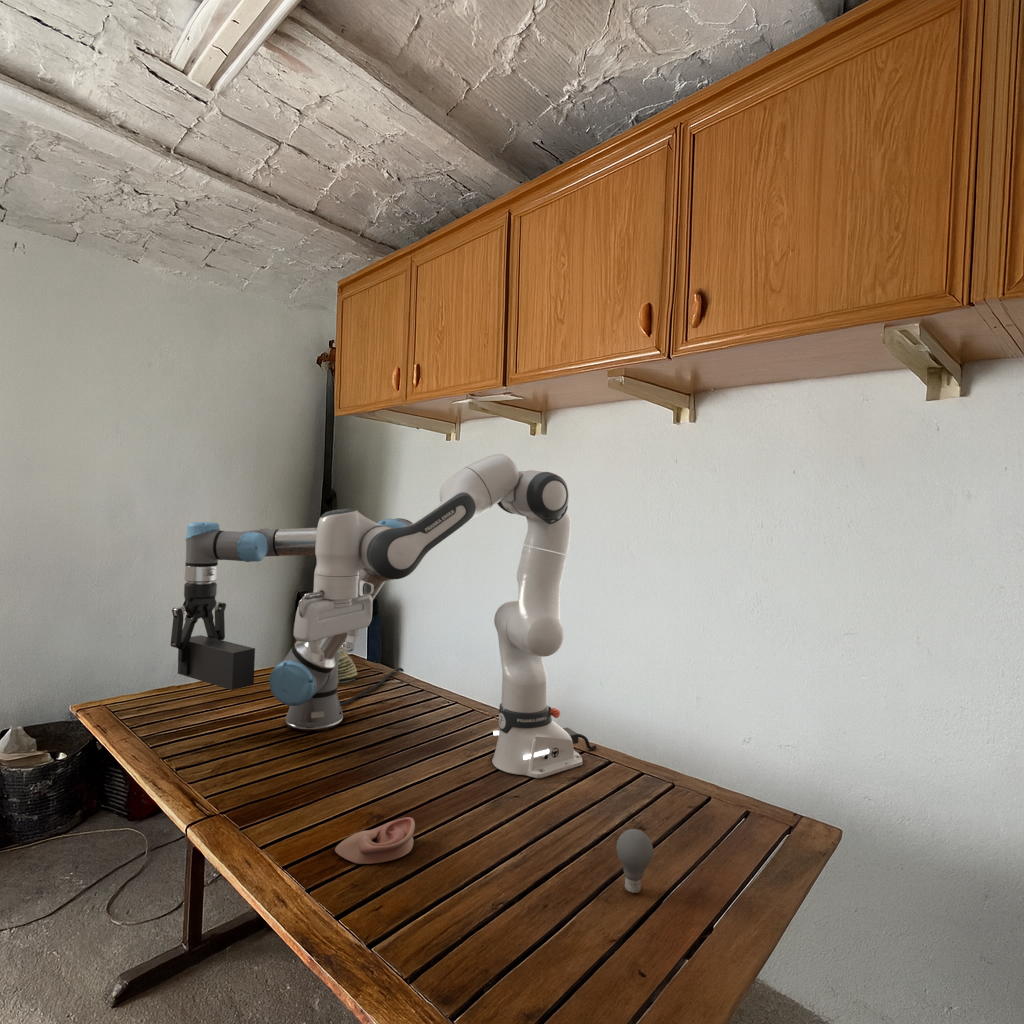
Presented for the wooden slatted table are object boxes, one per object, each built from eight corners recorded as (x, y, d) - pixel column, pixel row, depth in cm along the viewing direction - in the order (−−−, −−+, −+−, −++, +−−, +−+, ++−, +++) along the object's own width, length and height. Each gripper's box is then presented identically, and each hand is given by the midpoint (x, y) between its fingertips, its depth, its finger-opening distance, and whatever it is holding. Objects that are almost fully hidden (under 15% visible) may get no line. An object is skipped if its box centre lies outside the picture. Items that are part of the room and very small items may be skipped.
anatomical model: (327, 836, 111) (356, 806, 122) (326, 858, 111) (355, 826, 122) (398, 848, 108) (421, 815, 119) (397, 871, 108) (420, 836, 119)
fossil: (297, 682, 213) (299, 637, 212) (348, 673, 225) (349, 631, 225) (308, 688, 206) (310, 642, 206) (360, 679, 218) (361, 636, 218)
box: (177, 673, 163) (178, 638, 163) (199, 668, 168) (200, 635, 168) (232, 690, 151) (233, 652, 151) (253, 684, 157) (255, 648, 156)
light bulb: (610, 879, 108) (613, 822, 108) (644, 879, 109) (647, 822, 109) (619, 902, 102) (622, 840, 102) (655, 901, 103) (658, 840, 103)
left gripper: (173, 586, 153) (169, 682, 153) (242, 580, 169) (239, 666, 170) (155, 583, 157) (152, 676, 157) (225, 577, 173) (221, 661, 174)
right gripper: (313, 596, 118) (310, 669, 118) (378, 584, 137) (375, 648, 137) (287, 592, 120) (284, 664, 121) (354, 581, 139) (352, 644, 139)
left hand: (197, 670), depth 163 cm, fingers closed on box, 6 cm apart
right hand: (333, 656), depth 129 cm, fingers open, 8 cm apart
